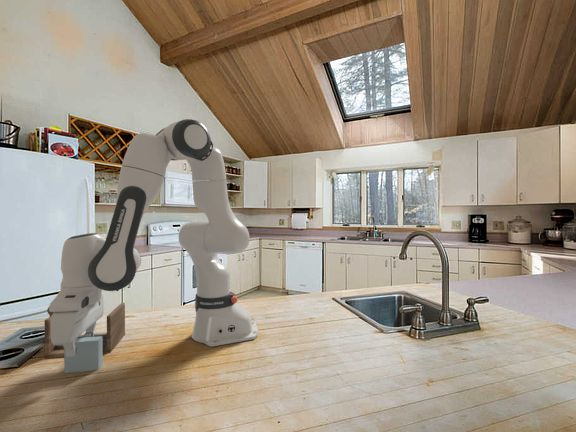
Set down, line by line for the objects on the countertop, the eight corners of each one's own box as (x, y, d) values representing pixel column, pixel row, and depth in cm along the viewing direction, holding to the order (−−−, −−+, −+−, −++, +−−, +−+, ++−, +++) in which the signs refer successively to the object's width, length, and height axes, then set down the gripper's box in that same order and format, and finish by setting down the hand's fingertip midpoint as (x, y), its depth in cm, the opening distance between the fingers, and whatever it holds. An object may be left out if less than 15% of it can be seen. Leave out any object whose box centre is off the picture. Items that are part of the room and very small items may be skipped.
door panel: (102, 364, 78) (102, 336, 77) (98, 369, 75) (98, 340, 75) (69, 367, 76) (69, 338, 76) (64, 373, 74) (64, 343, 73)
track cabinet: (125, 334, 96) (124, 302, 96) (110, 352, 84) (110, 316, 84) (68, 338, 92) (67, 305, 92) (44, 358, 81) (44, 320, 80)
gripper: (86, 285, 84) (85, 331, 84) (44, 307, 64) (43, 368, 64) (110, 284, 85) (109, 330, 85) (76, 306, 65) (75, 365, 65)
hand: (80, 346), depth 74 cm, fingers open, 8 cm apart
